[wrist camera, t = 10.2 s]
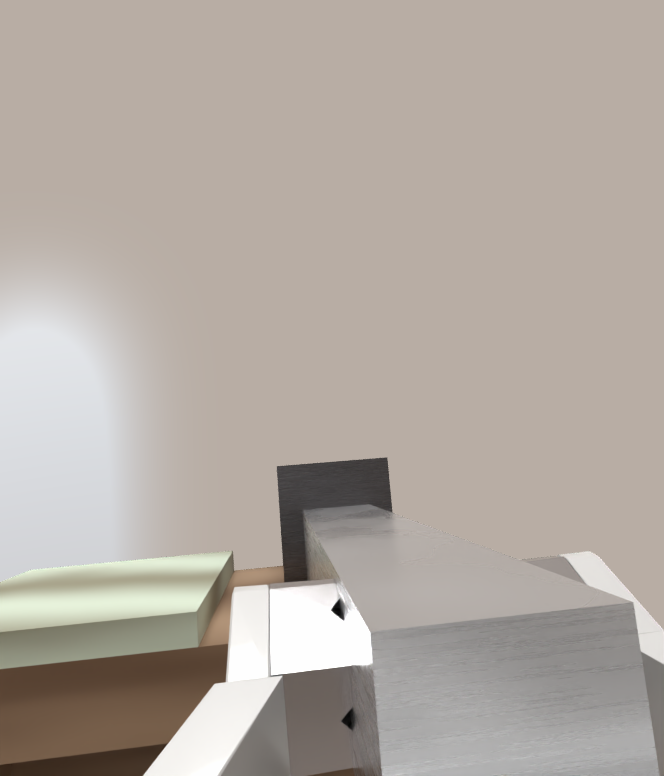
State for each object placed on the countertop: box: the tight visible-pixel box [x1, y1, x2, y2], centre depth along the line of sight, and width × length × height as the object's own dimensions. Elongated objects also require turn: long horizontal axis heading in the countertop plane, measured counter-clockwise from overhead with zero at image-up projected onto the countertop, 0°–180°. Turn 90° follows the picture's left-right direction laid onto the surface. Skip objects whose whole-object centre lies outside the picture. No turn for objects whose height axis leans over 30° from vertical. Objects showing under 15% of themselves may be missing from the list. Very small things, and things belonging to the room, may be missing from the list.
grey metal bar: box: [277, 458, 660, 776], centre depth 15 cm, size 21×4×4 cm, turn 5°
